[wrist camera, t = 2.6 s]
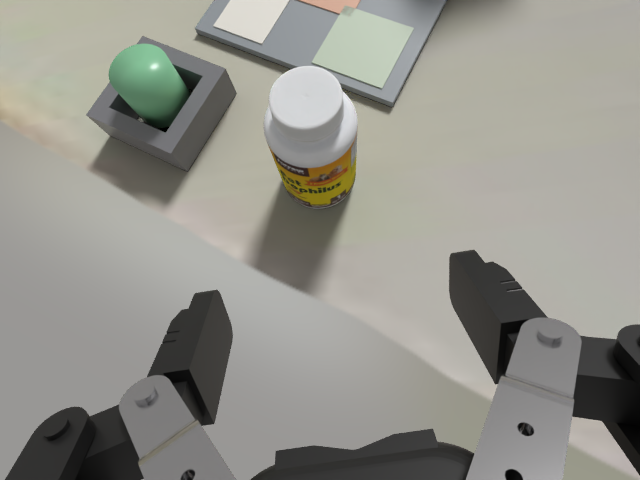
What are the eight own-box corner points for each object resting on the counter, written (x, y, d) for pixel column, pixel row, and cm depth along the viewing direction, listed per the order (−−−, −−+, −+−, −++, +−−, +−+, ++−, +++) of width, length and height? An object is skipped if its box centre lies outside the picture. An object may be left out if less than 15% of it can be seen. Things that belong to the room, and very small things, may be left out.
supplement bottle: (278, 207, 30) (242, 137, 20) (291, 142, 31) (263, 48, 21) (351, 216, 29) (350, 148, 19) (360, 149, 30) (364, 55, 21)
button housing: (236, 93, 33) (225, 68, 30) (187, 171, 31) (170, 153, 28) (160, 62, 34) (142, 36, 31) (109, 135, 33) (86, 114, 30)
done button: (201, 91, 31) (180, 55, 27) (172, 135, 30) (146, 104, 26) (157, 73, 32) (130, 35, 28) (128, 115, 31) (96, 83, 27)
